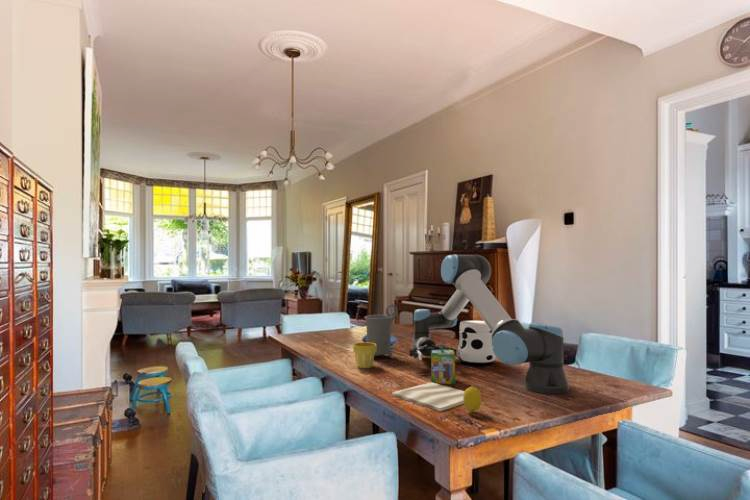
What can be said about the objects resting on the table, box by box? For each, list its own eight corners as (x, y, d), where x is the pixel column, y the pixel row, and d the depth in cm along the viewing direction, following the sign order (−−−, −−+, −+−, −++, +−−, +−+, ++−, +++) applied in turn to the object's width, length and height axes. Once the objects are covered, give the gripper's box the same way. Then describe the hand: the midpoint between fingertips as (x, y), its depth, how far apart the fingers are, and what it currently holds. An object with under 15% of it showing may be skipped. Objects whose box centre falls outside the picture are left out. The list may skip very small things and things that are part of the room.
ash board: (479, 398, 155) (479, 395, 155) (440, 411, 142) (440, 408, 142) (431, 384, 172) (431, 382, 172) (392, 395, 159) (392, 392, 159)
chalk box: (455, 385, 171) (455, 345, 171) (430, 384, 172) (430, 345, 173) (455, 378, 180) (454, 341, 180) (431, 378, 182) (431, 340, 182)
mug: (369, 361, 210) (368, 307, 210) (356, 355, 223) (356, 304, 224) (405, 358, 218) (404, 305, 218) (390, 352, 231) (390, 302, 232)
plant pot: (377, 363, 206) (377, 342, 206) (375, 369, 196) (375, 346, 196) (354, 363, 207) (354, 341, 207) (351, 369, 197) (351, 346, 197)
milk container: (504, 362, 208) (503, 322, 208) (481, 369, 196) (481, 326, 196) (472, 356, 220) (472, 319, 221) (449, 362, 209) (449, 322, 209)
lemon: (473, 416, 137) (473, 389, 138) (459, 411, 142) (459, 385, 142) (485, 412, 141) (485, 386, 141) (471, 408, 145) (471, 382, 145)
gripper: (453, 354, 208) (467, 365, 187) (399, 355, 206) (407, 366, 185) (453, 337, 208) (467, 346, 187) (399, 338, 206) (407, 348, 185)
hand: (437, 356), depth 186 cm, fingers open, 13 cm apart
